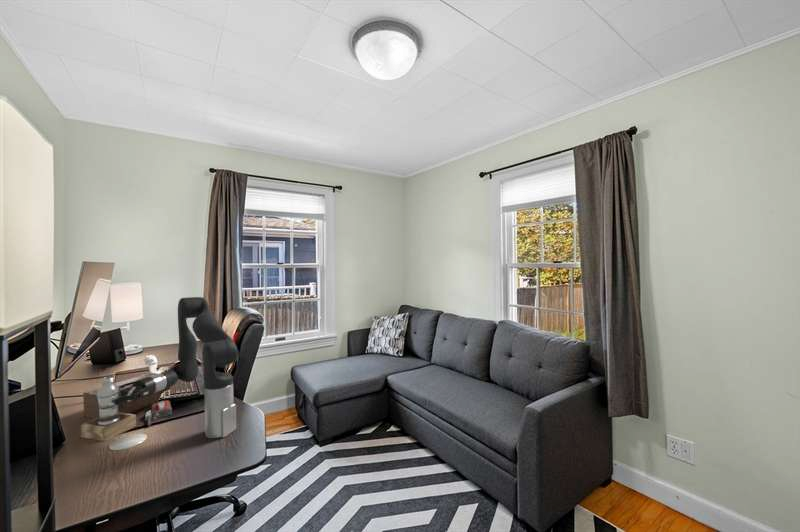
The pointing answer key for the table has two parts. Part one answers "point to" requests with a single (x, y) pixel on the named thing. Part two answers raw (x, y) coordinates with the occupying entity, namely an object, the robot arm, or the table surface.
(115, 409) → the plastic bottle
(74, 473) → the table surface
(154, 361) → the voxel character
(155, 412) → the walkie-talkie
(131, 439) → the grey coaster
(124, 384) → the tissue box cover
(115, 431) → the oak holder
